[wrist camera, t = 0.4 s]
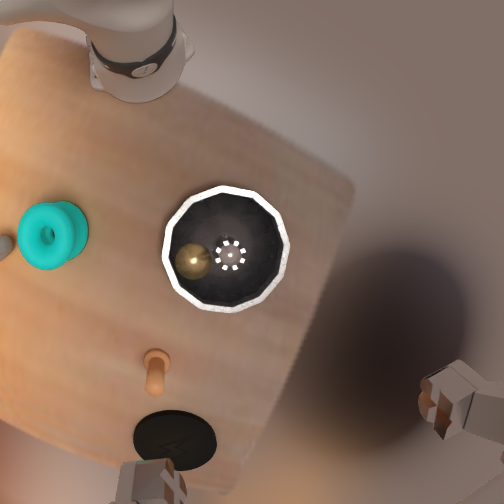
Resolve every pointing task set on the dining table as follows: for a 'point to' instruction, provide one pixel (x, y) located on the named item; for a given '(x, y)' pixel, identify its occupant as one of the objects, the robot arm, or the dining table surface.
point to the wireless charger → (175, 439)
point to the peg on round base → (156, 371)
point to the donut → (5, 246)
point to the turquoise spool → (41, 234)
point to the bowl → (225, 249)
